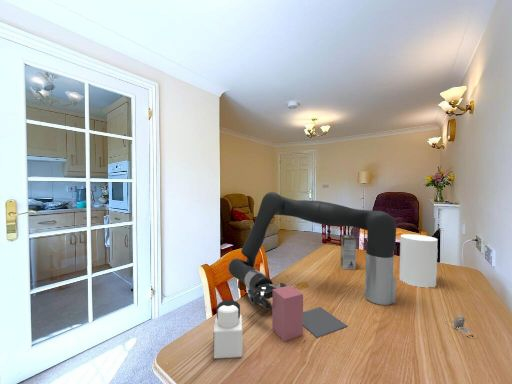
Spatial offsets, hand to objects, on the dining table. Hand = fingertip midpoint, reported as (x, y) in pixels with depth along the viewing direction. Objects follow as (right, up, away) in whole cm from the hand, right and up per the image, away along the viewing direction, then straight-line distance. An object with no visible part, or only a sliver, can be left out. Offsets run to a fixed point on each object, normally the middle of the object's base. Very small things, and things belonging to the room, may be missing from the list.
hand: (281, 303), depth 71 cm
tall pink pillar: (+1, -7, -3) cm, 8 cm away
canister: (+65, -6, +34) cm, 73 cm away
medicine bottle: (-15, -7, -10) cm, 19 cm away
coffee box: (+41, -6, +52) cm, 66 cm away
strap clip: (+54, -8, -1) cm, 54 cm away
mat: (+12, -7, +3) cm, 14 cm away
